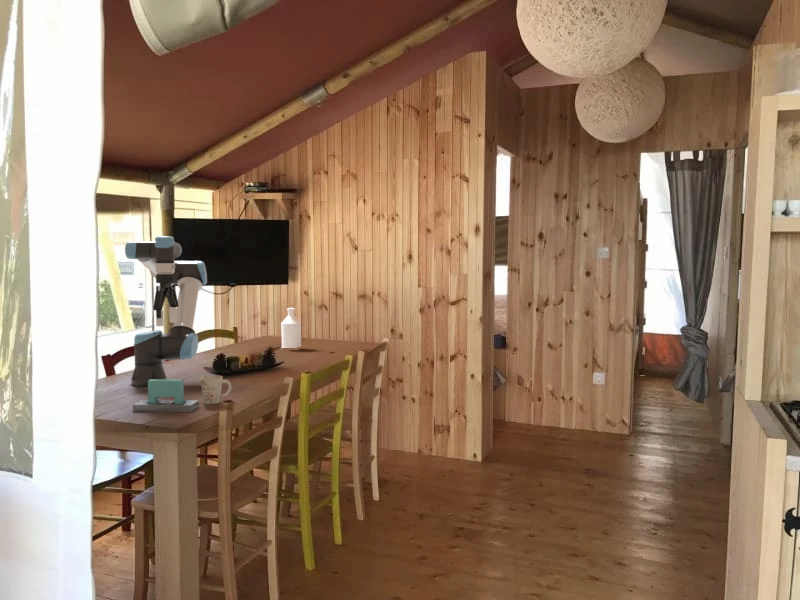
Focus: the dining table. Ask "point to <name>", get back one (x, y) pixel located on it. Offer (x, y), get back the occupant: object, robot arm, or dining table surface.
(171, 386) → the panel
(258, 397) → the dining table surface
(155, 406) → the block
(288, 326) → the bottle
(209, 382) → the mug
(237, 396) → the dining table surface
